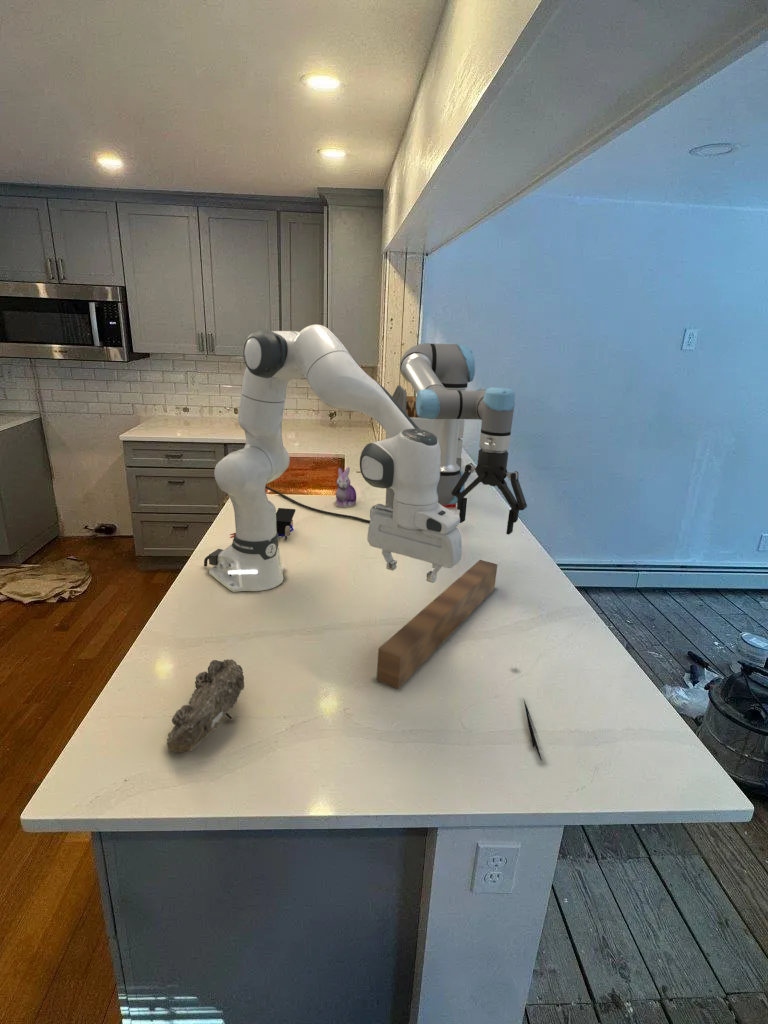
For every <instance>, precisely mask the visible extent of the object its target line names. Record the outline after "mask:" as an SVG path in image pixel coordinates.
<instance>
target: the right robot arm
mask: <svg viewBox="0 0 768 1024" xmlns="http://www.w3.org/2000/svg"><path fill="white" fill-rule="evenodd" d="M399 371H400V374H401V376H402V378H403V379H404V381H406V382H407V383H409V384H410V386H412V389H413V390H414V392H415V394H416V396H415V397H416V411H417V415H418V417H420V418H427V419H434V430H433V435H435V436H436V437H437V438H438V441H439V445H440V451H441V469H440V480H439V482H438V485H437V494H438V503H439V504H441V505H450V504H456V510H457V511H459V513H458V516H459V517H460V523H459V524H462V523H463V522H465V521H466V517H467V506H468V497H466V496H467V495H468V494H470V492H471V491H473V490H474V489H475V488H476V487H477V486H478V485H479V484H480V483H482V485H485V486H490V487H496V488H497V489H498V490H500V492H501V494H502V495H503V498H505V500H506V501H507V503H508V505H509V506H510V508H511V509H509V510H508V516H507V517H508V518H507V525H506V532H505V533H506V535H508V536H509V535H511V534H512V533H513V531H514V524H515V523H516V522H518V520H519V513H520V511H525V509H526V508H528V504H527V501H526V498H525V495H524V492H523V489H522V486H521V484H520V480H519V471H517V470H514V471H508V470H507V469H508V461H509V452H508V450H510V443H511V434H512V427H513V418H514V411H515V410H514V409H515V407H516V402H515V401H516V392H515V390H513V389H511V388H507V387H501V386H500V387H499V386H498V387H497V386H491V387H487V388H486V389H485V388H476V389H473V390H467V389H468V385H469V383H471V382H473V381H474V378H475V375H476V361H475V355H474V352H473V350H472V348H471V347H470V346H469V345H467V344H458V343H429V342H424V343H419V344H416V345H413V346H412V347H410V348H409V349H407V351H405V352H404V354H403V355H402V357H401V359H400V362H399ZM460 419H464V420H479V421H481V426H480V434H479V435H480V436H479V446H478V447H479V448H480V449H479V450H478V456H477V465H476V464H475V465H474V464H473V463H472V462H470V463H468V464H466V465H465V467H464V471H463V472H462V470H461V471H460V467H459V466H458V465H457V463H456V460H457V448H458V436H459V424H460ZM474 472H475V473H476V476H477V477H476V478H475V479H473V481H472V482H471V483H470V484H469V485H468V486H466V487H465V485H466V482H467V481H468V479H469V478H470V476H471V474H472V473H474ZM506 478H508V481H510V485H511V487H512V490H511V489H510V488H509V485H508V482H506V480H505V479H506ZM265 490H268V491H270V492H272V493H275V494H277V495H279V496H281V497H282V498H284V499H286V500H287V501H290V502H292V503H293V504H295V505H297V506H299V507H302V508H304V509H307V510H310V511H312V512H317V513H321V514H325V515H328V516H333V517H339V518H345V519H352V520H357V521H359V522H364V523H367V524H370V520H371V519H365V518H362V517H359V516H354V515H348V514H344V513H343V514H342V513H336V512H332V511H327V510H323V509H319V508H315V507H312V506H308V505H306V504H304V503H301V502H299V501H297V500H295V499H293V498H291V497H289V496H287V495H286V494H283V493H282V492H279V491H278V490H275V489H274V488H272V487H270V486H267V485H266V487H265ZM512 491H513V492H512ZM393 498H394V491H393V490H392V489H391V488H385V504H384V505H385V506H391V507H393Z"/></svg>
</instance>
